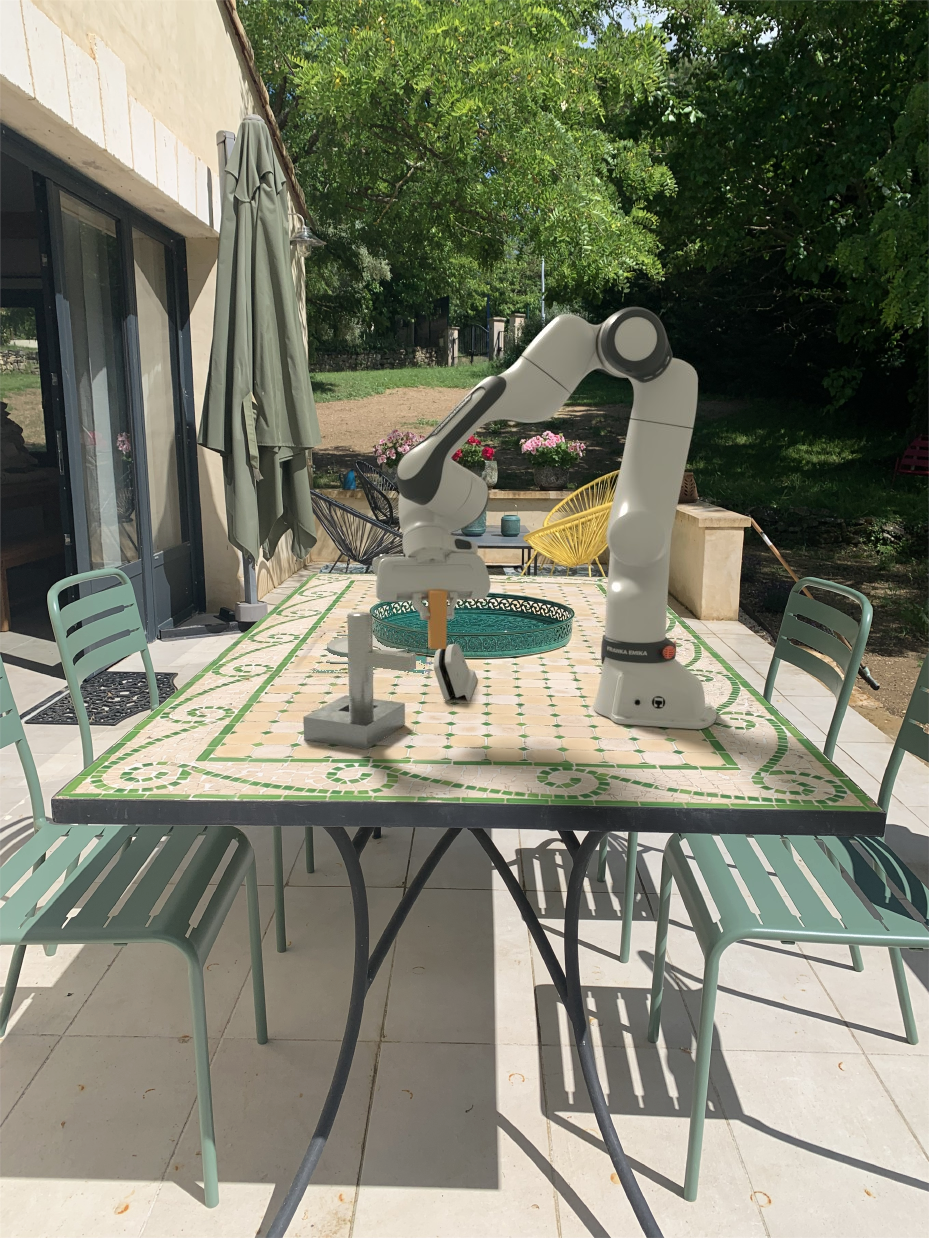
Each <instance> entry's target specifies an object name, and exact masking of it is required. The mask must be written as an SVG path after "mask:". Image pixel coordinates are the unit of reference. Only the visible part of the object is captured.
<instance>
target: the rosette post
mask: <svg viewBox="0 0 929 1238" xmlns="http://www.w3.org/2000/svg"><path fill="white" fill-rule="evenodd" d="M346 617H347V618H346V620H347V622H346V623H347V630H348V673H347V674H348V695H347V694H345V695H343V696H341V697H338V698H337V699H335V700H333V701H332V702H329V703H328V704H326V705H323V706H322V707H320V708H317V709H316V710H314V711H312V712H310V713H308V714H306V715H305V716H304V715H303V718H302V719H303V720H302V721H303V740H304V741H306V740H307V741H312V742H317V743H323V744H330V745H335V746H342V747H348V748H356V749H361V750H362V749H363V750H368V749H370V748H371V747H373V746H375V745H376V744H377V743H376V742H378V741H379V742H381V741H382V740H383V738H384V737H385V738H387V737H388V736H390V735H391V734H393V733H394V732H396V731H397V729H398V728H399V729H401V728H402V727H404V726H405V725H406V703H405V702H399V701H392V700H384V699H378V698H377V699H376V698H374V675H373V667H375V668H383V669H391V670H400V671H408V672H410V671H412V670H414V669H416V654H415V653H406V652H397V651H388V650H379V649H373V633H372V631H373V613H371V612H369V611H368V612H367V611H366V612H365V611H354V612H349V613H347V614H346ZM404 724H405V725H404ZM403 725H404V726H403ZM401 726H402V727H401ZM400 727H401V728H400ZM399 729H398V730H399ZM395 730H396V731H395ZM389 734H390V735H389ZM386 736H387V737H386ZM385 738H384V739H385ZM381 739H382V740H381ZM380 740H381V741H380ZM379 742H378V743H379ZM375 743H376V744H375Z"/></svg>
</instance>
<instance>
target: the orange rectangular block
mask: <svg viewBox="0 0 929 1238" xmlns="http://www.w3.org/2000/svg"><path fill="white" fill-rule="evenodd" d="M447 606H448V600H447V592H446V591H445V590H444V589H434V590H428V601H427V607H429V608H430V620H427V631H428V649H430V650H438V649H446V648H447V646H448V645H447V642H448V641H447V638H448V637H447V636H448V634H447V633H448V628H447V626H448V625H447V624H448V623H447V622H448V619H447Z"/></svg>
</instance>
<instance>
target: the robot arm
mask: <svg viewBox="0 0 929 1238" xmlns="http://www.w3.org/2000/svg"><path fill="white" fill-rule="evenodd" d="M671 348H672V347H671V345H670V342H669V340H668V335H667V333H666V330H665V327H664V325H663V323H662V321H661V320H660V319H659V316H658V315H656V314H655V313H654V312H652V311H651V310H649V309H647V308H644V307H641V306H640V307H639V306H629V307H625V308H622V309H620V310H619V311H616V312H615V313H613V314H612V315H610V316H609V317H608V318H607V319H606V320H605V321H603V322H602V323H599V324H592V323H590V322H588V321H587V320H586V319H584V318H582V317H581V316H578V315H574V314H571V313H563V314H560V315H558V316H556V317H555V318H553V319H552V320H551V321H550V322H549V323H548V324H547V325H546V326H545V327H544V328H542V330H541V331H540V332H539V333H538V334H537V336H535V338H534V339H533V340H532V341H531V342H530V343H529V344H528V346H527V347H526V348H525V350H524V351H523V352H522V353H521V356H519V358H518V359H517V360H516V361H515V362H514V363H513V364H512V365H511V366H510V367H509V368H508V369H506V370H505V371H504V372H501V373H500V374H498V375H490V376H487V377H486V378H484V379H482V380H481V381H480V382H478V383H477V384H476V386H474V387H473V388H472V389H471V390H470V391H469V392H468V393H467V394H466V395H464V397H463V398H462V399H461V400H460V401H459V402H458V403H457V404H456V406H454V408H452V410H451V411H449V413H447V415H446V416H444V418H442V420H441V421H440V422H439V423H438V424H437V425H436V426H435V427H434V428H433V429H432V430H431V431H430V432H429V433H428V434H427V435H426V436H425V437H424V438H423V439H422V440H420V441H418V443H416V444H415V445H414V446H412V447H411V448H410V449H409V450H408V451H406V452H405V453H404V454H403V455H402V457H401V458H400V459H399V462H398V464H397V466H396V471H395V472H396V473H395V476H396V486H397V488H398V491H399V495H398V507H397V509H398V510H397V511H398V519H399V527H400V530H401V532H402V534H403V536H402V540H401V542H402V550H403V551H402V552H403V553H393V554H387V553H384V554H379V556H376V557H374V558H373V559H372V561H371V569H372V572H373V573H374V575H375V576H376V583H375V584H376V585H375V595H376V598H377V599H378V600H379V601H380V603H381V602H383V603H385V602H387V603H388V602H389V603H390V602H411V605H412V606H413V608H414V609H416V612H418V613H419V616H420V620H421V621H425V620H426V621H428V620H430V608H429V607H428V606H425V605H424V604H423V602H425V601H427V602H428V590H434V589H444V590H445V591H446V592H447V603H448V604H449V605H447V620H454V618H455V608H456V606H457V603H458V601H459V600H460V601H462V600H484V599H486V598H487V596H488V594H490V590H491V579H490V575H489V572H488V568H487V565H486V563H485V560H484V559H483V558H482V556H480V555H478V552H479V547H478V544H477V542H476V541H473V540H469V539H465V538H460V537H457V536H454V535H452V534H450V533H455V532H458V531H460V530H462V529H464V528H466V527H468V526H469V525H472V524H473V523H475V522H476V521H478V520H479V519H480V518H482V516H483V515H484V513H485V512H486V511H487V507H488V504H489V499H490V493H489V492H490V491H489V487H488V484H487V482H486V480H485V479H482V478H481V477H480V476H478V475H477V474H476V473H474V472H472V471H471V470H469V469H468V468H467V467H464V466H463V465H461V464H459V463H458V462H457V461H454V460H453V459H452V457H453V456H454V455H455V454H456V453H457V452H458V451H459V449H461V447H462V446H463V445H464V444H465V443H466V442H467V441H468V440H469V439H470V438H471V437H472V436H473V435H474V434H475V433H476V432H477V431H478V430H479V429H480V428H481V427H482V426H484V425H485V424H486V423H488V422H492V421H495V420H509V421H515V422H518V423H524V424H525V423H526V424H529V423H530V424H531V423H534V424H535V423H539V422H544V421H546V420H549V419H551V418H552V417H553V416H554V415H556V414H557V413H558V412H559V410H561V409H562V407H563V406H564V405H565V404H566V402H567V400H569V398H570V396H571V394H573V393H574V391H575V390H576V388H577V387H578V386H579V384H580V383H581V381H582V380H583V379H584V378H585V377H586V376H587V375H588V374H589V373H591V372H592V371H594V370H595V371H598V372H600V373H604V374H606V375H608V376H611V377H615V378H620V379H621V378H622V379H623V378H625V379H627V378H628V380H629V381H630V382H631V385H632V387H633V388H632V389H633V404H632V409H631V413H630V419H629V422H628V428H627V434H626V438H625V444H624V450H623V454H622V455H623V456H622V459H621V465H620V468H619V472H618V477H617V481H616V485H615V489H614V493H613V494H614V495H613V500H612V504H611V510H610V513H609V514H610V515H609V517H608V523H607V526H606V527H607V528H606V534H605V535H606V536H605V537H606V539H605V540H606V544H607V547H608V550H609V562H608V575H607V584H606V585H607V586H606V596H605V597H606V598H605V599H606V600H605V619H604V620H605V622H604V627H605V628H604V634H603V635H602V640H601V646H600V650H601V651H600V659H601V665H602V667H601V672H600V673H601V674H600V680H599V686H598V689H597V693H596V697H595V699H594V700H595V701H594V702H593V705H592V709H593V710H594V711H595V712H596V713H597V714H599V715H601V716H603V717H605V718H609V719H610V720H611V721H612V722H614V723H616V724H618V725H619V724H620V725H632V726H644V727H645V726H646V727H662V728H674V729H690V730H702V729H706V728H708V727H710V726H712V725H713V724H714V723H715V722H716V720H717V716H718V715H717V714H718V713H717V709H716V707H715V706H713V705H712V704H711V703H707V702H706V697H705V689H704V686H703V683H702V681H701V679H700V678H699V677H698V676H696V675H695V674H694V673H693V672H691V670H689V669H688V668H687V667H685V666H684V665H683V664H682V663H681V662H680V661H678V659H676V657H677V655H676V654H677V641H676V640H674V641H672V640H671V639H670V638H668V637H667V636H666V632H667V617H668V615H667V614H668V612H667V611H668V595H669V579H670V578H669V577H670V563H671V561H670V559H671V557H670V556H671V548H672V546H671V544H672V534H673V533H672V532H673V527H674V523H675V517H676V513H677V509H678V503H679V499H680V494H681V488H682V483H683V479H684V473H685V469H686V465H687V460H688V455H689V449H690V446H691V445H690V444H691V440H692V436H693V431H694V426H695V419H696V413H697V405H698V393H699V392H698V390H699V389H698V388H699V387H698V386H699V385H698V383H699V377H698V374H697V373H698V372H697V370H695V367H693V366H692V365H691V364H690V363H688V362H686V361H685V360H682V359H680V358H676V357H673V351H672V349H671ZM422 601H423V602H422Z"/></svg>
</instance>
